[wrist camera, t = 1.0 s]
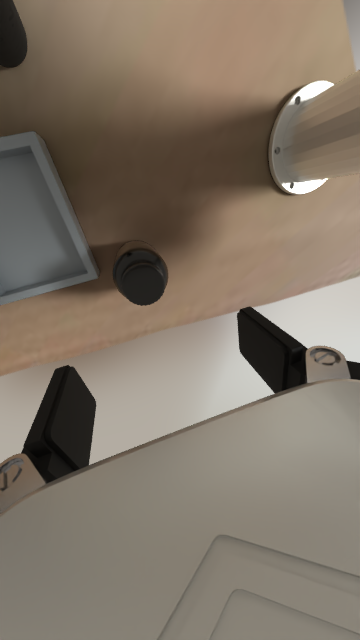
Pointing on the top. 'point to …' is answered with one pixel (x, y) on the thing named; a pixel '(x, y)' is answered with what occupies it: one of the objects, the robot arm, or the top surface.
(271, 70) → the top surface
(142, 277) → the supplement bottle
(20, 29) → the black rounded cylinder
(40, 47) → the top surface
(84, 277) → the tray
